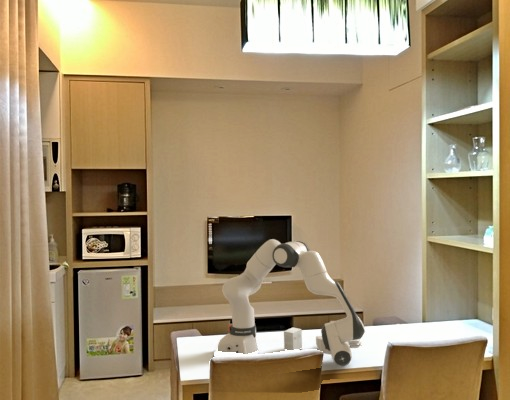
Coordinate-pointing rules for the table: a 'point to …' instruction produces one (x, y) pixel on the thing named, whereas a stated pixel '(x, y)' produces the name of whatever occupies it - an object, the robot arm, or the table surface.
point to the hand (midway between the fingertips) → (336, 336)
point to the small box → (293, 339)
